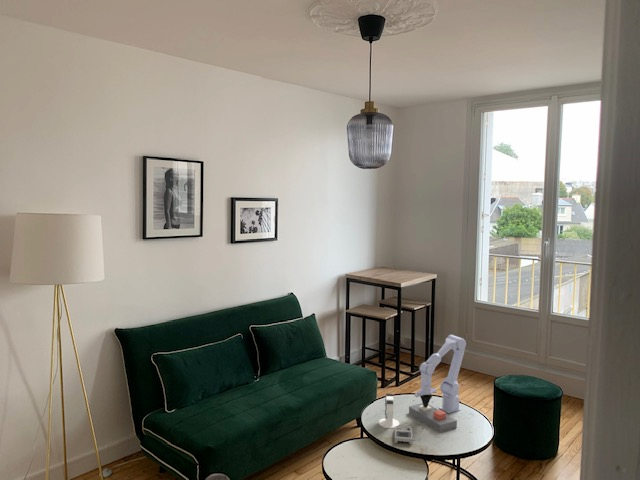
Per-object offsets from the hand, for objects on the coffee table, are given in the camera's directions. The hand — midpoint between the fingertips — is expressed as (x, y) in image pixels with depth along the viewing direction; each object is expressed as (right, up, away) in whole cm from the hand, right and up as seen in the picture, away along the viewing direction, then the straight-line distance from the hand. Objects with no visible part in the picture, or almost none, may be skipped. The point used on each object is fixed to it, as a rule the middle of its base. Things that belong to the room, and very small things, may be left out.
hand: (425, 406), depth 279 cm
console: (+3, -6, -5) cm, 8 cm away
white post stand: (-22, -6, -9) cm, 25 cm away
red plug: (+6, -3, -10) cm, 12 cm away
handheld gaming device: (-17, -8, -25) cm, 31 cm away
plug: (0, -4, 0) cm, 4 cm away
